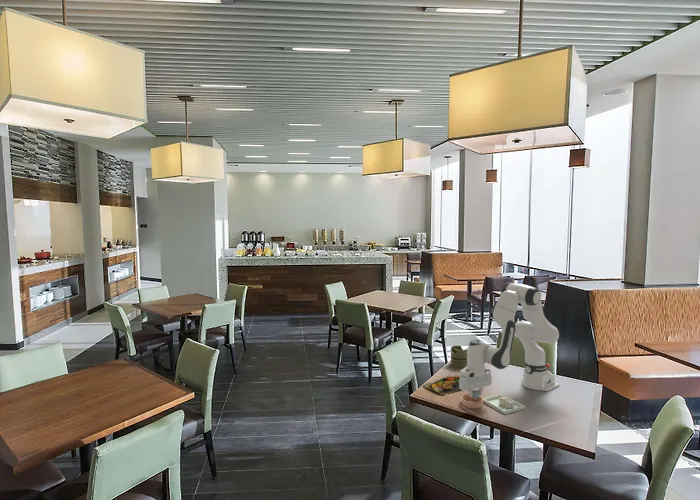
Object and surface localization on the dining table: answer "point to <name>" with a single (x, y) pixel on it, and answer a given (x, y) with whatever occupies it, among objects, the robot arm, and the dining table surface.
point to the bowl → (471, 401)
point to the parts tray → (494, 403)
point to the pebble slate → (475, 394)
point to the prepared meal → (445, 385)
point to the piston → (459, 356)
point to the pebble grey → (509, 404)
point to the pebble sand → (502, 401)
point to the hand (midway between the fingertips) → (475, 395)
